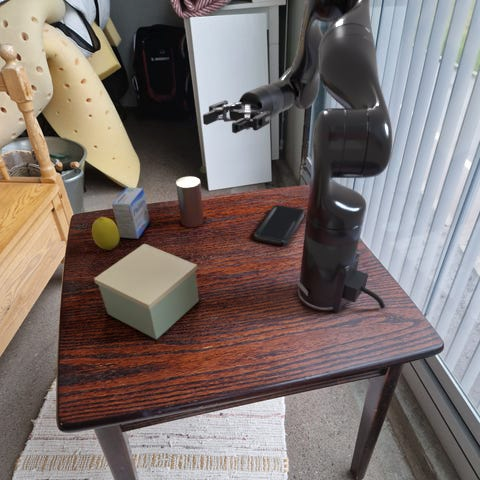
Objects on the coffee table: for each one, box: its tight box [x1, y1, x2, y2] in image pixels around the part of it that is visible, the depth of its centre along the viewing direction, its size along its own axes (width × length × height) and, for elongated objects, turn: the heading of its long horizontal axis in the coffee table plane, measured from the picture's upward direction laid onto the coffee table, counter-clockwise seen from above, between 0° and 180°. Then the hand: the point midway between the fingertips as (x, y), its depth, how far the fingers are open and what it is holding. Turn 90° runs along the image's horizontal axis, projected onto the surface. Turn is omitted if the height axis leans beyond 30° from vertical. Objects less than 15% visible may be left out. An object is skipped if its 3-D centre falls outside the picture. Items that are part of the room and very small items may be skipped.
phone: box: [253, 204, 305, 247], centre depth 98 cm, size 8×1×15 cm
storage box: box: [93, 243, 200, 340], centre depth 76 cm, size 13×13×8 cm
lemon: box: [91, 216, 121, 251], centre depth 90 cm, size 6×6×8 cm
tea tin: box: [175, 176, 204, 228], centre depth 97 cm, size 5×5×10 cm
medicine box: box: [111, 186, 151, 240], centre depth 95 cm, size 8×4×9 cm, turn 168°
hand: (218, 124), depth 93 cm, fingers open, 8 cm apart
